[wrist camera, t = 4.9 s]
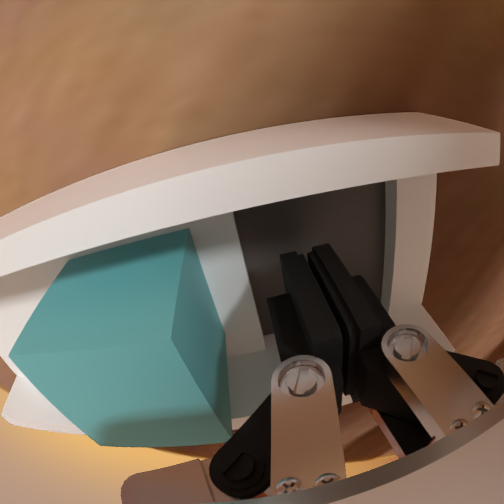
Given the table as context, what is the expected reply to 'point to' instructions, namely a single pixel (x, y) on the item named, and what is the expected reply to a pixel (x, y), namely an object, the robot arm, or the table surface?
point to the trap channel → (251, 229)
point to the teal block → (132, 346)
